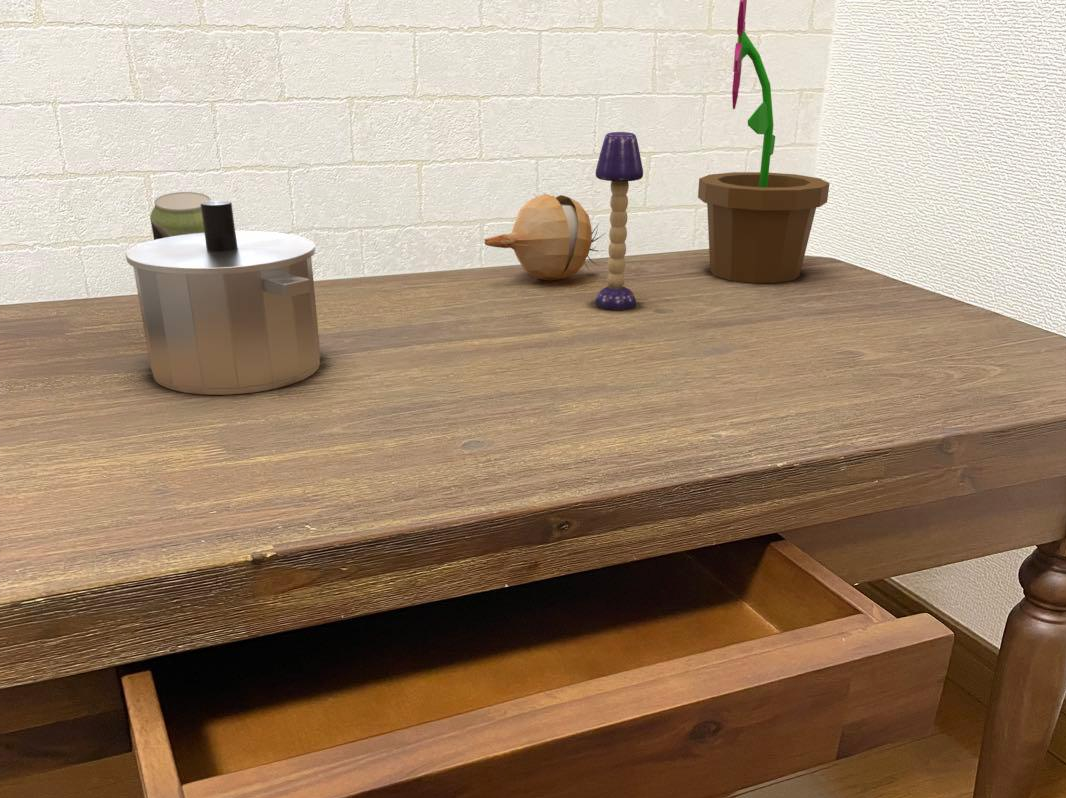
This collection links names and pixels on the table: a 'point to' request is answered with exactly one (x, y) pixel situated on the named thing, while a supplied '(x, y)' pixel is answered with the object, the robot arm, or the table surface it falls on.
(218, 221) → the pot lid
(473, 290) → the table surface
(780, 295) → the table surface
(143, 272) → the pot
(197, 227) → the beverage can
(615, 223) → the toy lamp
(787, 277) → the flowerpot
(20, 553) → the table surface
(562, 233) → the yellow onion
